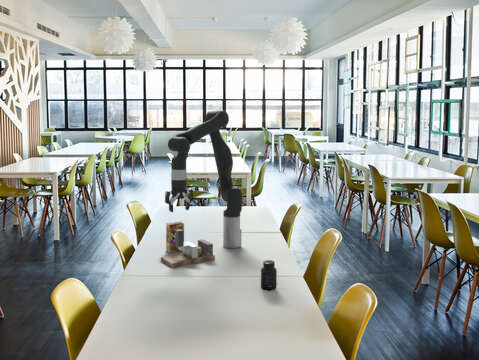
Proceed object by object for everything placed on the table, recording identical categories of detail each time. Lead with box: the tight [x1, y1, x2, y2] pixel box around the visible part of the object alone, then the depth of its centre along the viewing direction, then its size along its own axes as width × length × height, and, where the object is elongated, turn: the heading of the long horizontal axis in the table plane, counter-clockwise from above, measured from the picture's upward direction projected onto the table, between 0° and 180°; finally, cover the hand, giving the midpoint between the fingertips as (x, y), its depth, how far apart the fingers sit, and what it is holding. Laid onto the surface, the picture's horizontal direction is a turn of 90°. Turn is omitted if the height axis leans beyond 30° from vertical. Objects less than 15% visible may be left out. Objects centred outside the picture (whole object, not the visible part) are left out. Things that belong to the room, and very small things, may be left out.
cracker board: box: [160, 239, 216, 268], centre depth 259 cm, size 24×12×8 cm, turn 124°
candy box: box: [165, 221, 185, 253], centre depth 274 cm, size 9×4×15 cm, turn 123°
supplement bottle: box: [260, 259, 278, 292], centre depth 222 cm, size 7×7×12 cm
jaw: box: [175, 229, 198, 259], centre depth 257 cm, size 9×10×14 cm
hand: (179, 210), depth 252 cm, fingers open, 8 cm apart
